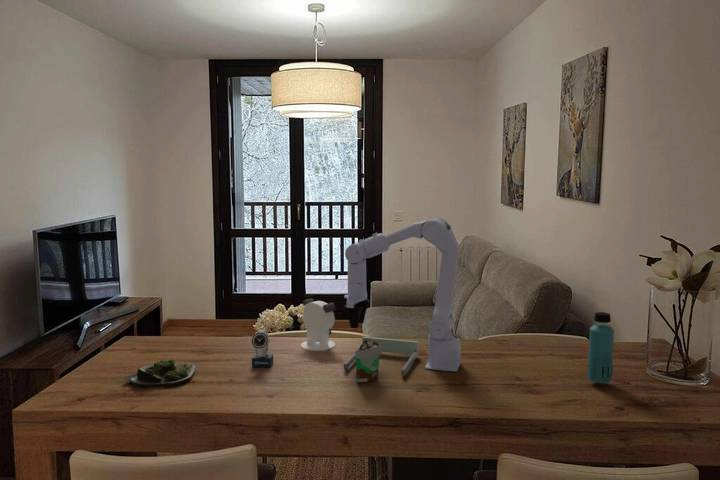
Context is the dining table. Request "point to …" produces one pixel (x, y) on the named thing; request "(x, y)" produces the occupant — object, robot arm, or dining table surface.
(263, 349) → the watch
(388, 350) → the grey u-shaped frame
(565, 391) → the dining table surface
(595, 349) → the beverage bottle
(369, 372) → the food container
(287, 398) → the dining table surface
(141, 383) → the salad plate
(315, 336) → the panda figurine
